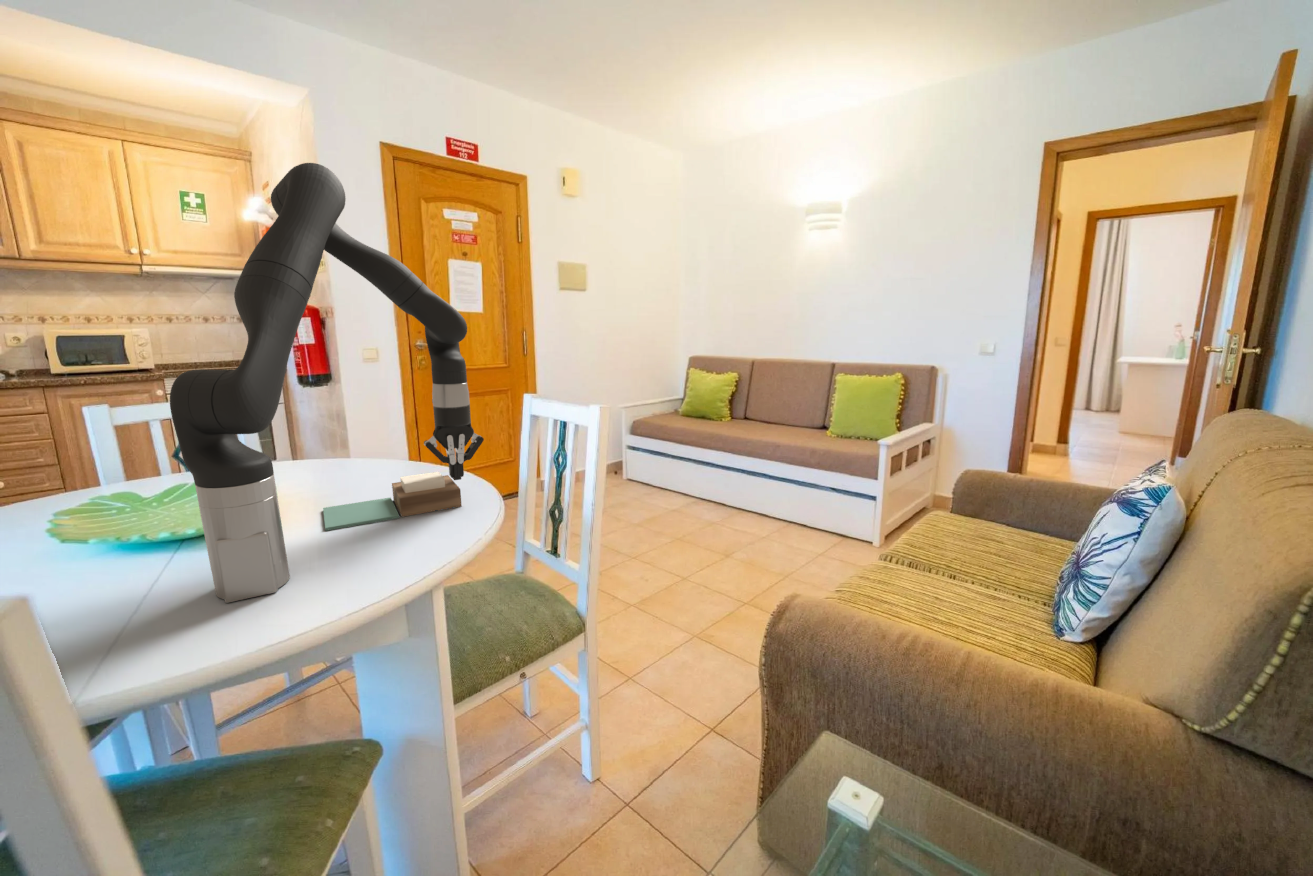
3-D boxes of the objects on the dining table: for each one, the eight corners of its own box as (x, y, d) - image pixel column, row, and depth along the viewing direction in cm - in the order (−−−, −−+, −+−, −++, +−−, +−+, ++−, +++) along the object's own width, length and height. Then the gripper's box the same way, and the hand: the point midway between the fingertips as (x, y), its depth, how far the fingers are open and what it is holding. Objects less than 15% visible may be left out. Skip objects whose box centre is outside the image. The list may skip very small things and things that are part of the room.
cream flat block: (445, 487, 117) (444, 478, 117) (405, 493, 113) (404, 484, 112) (439, 480, 122) (438, 471, 122) (401, 485, 118) (400, 476, 117)
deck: (461, 506, 117) (460, 488, 116) (401, 516, 110) (399, 498, 110) (449, 491, 127) (448, 475, 126) (393, 500, 120) (391, 483, 119)
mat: (399, 518, 110) (399, 515, 110) (325, 531, 103) (325, 528, 103) (390, 499, 120) (390, 497, 120) (323, 510, 114) (323, 507, 113)
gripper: (422, 408, 110) (429, 488, 114) (486, 403, 117) (491, 479, 121) (416, 403, 117) (422, 479, 120) (477, 399, 124) (482, 471, 127)
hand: (457, 479), depth 121 cm, fingers closed
